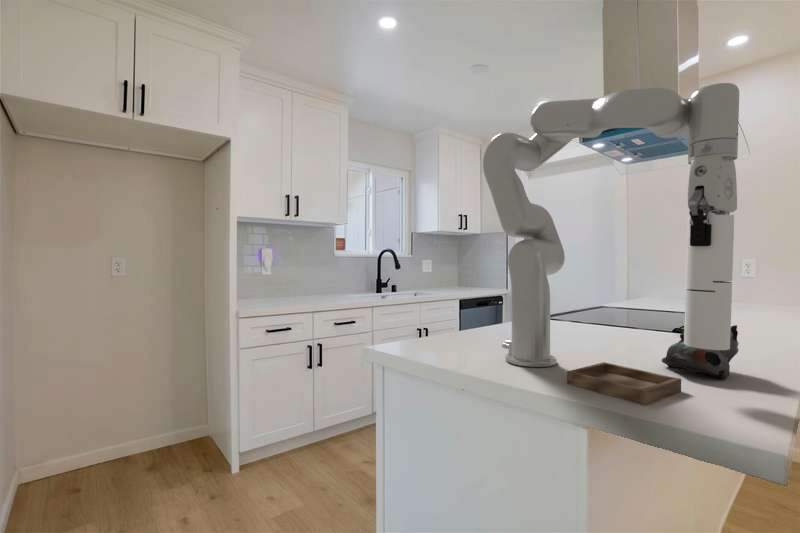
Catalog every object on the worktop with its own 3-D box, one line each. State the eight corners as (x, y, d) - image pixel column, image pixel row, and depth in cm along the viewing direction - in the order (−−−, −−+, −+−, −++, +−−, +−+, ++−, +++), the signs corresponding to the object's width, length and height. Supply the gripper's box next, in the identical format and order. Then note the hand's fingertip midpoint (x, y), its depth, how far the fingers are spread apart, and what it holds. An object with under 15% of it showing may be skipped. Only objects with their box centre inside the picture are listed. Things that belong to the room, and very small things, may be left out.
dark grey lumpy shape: (656, 362, 103) (680, 314, 104) (711, 388, 98) (735, 336, 99) (668, 358, 90) (695, 303, 91) (732, 387, 85) (760, 328, 86)
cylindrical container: (738, 351, 75) (743, 214, 74) (695, 349, 76) (699, 214, 75) (716, 342, 82) (720, 217, 81) (677, 341, 83) (680, 218, 82)
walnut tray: (567, 383, 87) (567, 371, 87) (604, 372, 95) (604, 362, 95) (645, 405, 74) (645, 391, 74) (681, 391, 81) (681, 378, 81)
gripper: (716, 141, 70) (713, 245, 70) (753, 155, 79) (750, 247, 80) (668, 150, 76) (666, 246, 77) (708, 162, 86) (705, 247, 86)
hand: (709, 245), depth 78 cm, fingers closed on cylindrical container, 7 cm apart
